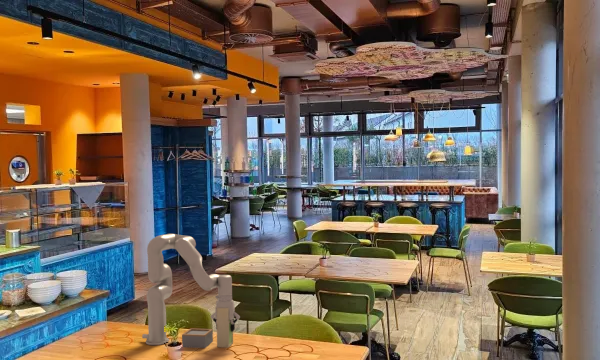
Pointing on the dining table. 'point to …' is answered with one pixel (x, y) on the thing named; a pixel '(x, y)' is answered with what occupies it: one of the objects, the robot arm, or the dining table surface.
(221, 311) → the toy refrigerator
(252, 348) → the dining table surface
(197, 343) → the grey open box
